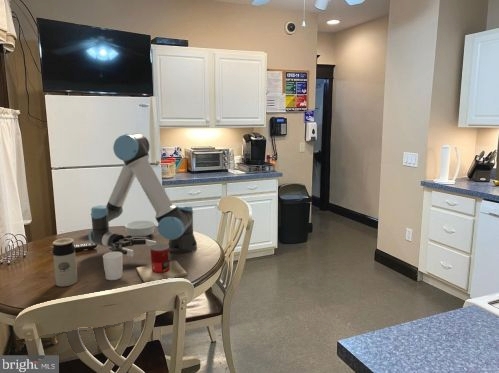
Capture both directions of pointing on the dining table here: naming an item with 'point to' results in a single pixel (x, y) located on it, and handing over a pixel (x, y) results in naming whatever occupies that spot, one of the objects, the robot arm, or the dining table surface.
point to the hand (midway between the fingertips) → (144, 249)
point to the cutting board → (173, 272)
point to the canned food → (160, 258)
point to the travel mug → (64, 262)
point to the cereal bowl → (140, 228)
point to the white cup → (113, 265)
